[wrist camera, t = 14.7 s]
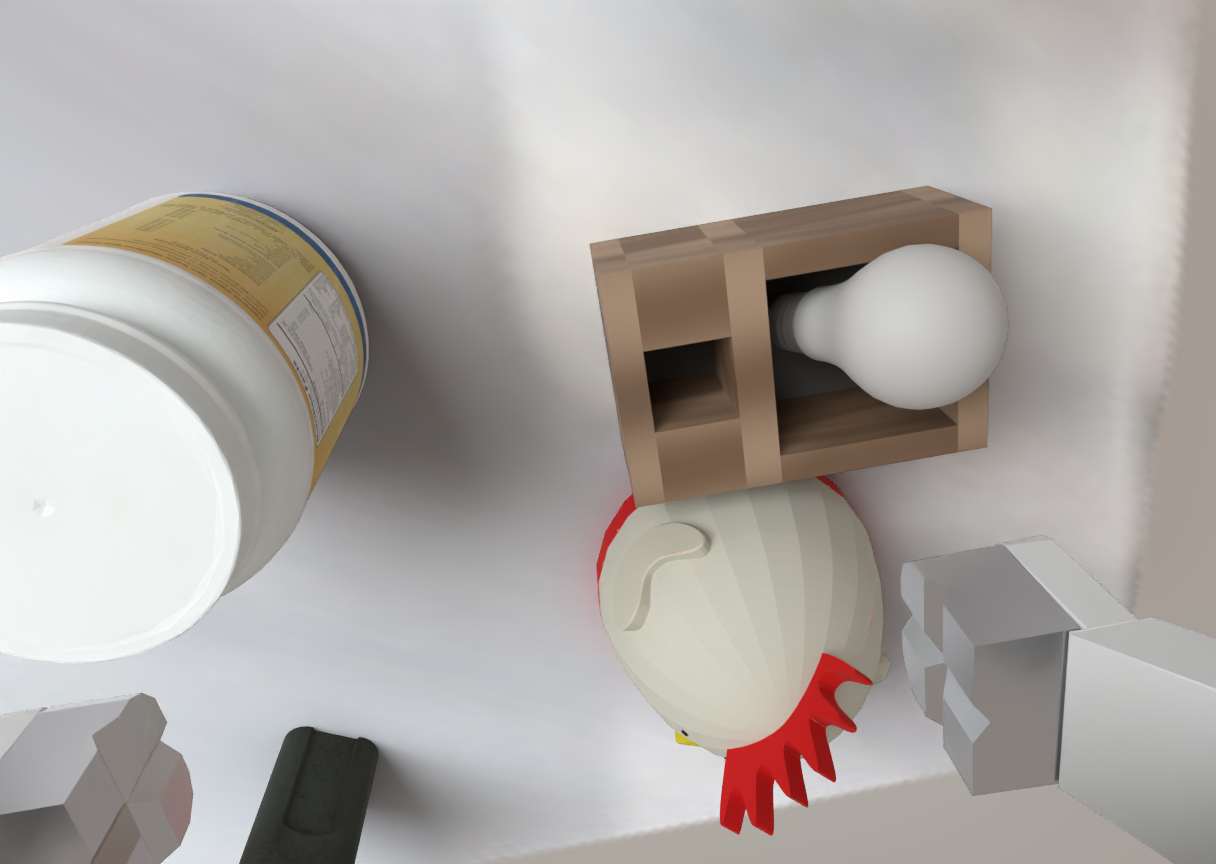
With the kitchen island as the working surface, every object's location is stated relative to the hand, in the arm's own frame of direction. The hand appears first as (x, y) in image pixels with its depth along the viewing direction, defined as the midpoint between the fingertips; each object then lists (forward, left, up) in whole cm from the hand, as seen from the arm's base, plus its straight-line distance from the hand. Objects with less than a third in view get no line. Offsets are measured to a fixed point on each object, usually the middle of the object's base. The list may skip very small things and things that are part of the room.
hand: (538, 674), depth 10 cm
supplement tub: (+3, -14, -31) cm, 34 cm away
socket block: (+7, +9, -31) cm, 33 cm away
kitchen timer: (+20, +6, -31) cm, 38 cm away
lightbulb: (+7, +9, -30) cm, 33 cm away
